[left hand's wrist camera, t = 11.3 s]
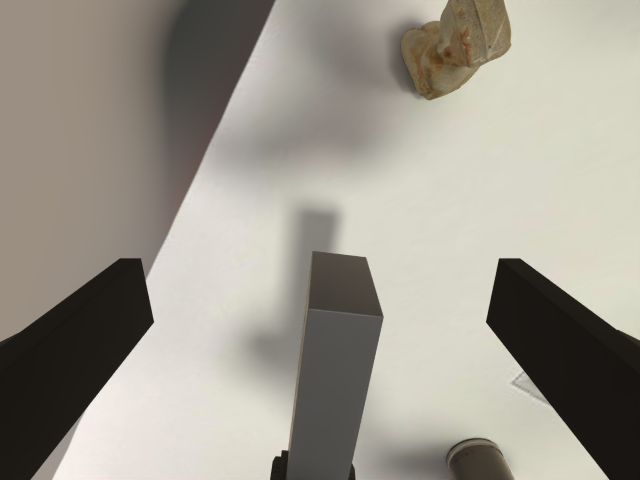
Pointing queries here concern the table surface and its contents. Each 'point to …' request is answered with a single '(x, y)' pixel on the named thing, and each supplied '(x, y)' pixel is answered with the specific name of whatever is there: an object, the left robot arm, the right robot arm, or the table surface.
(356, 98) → the table surface
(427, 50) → the sculpture
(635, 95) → the table surface
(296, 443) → the bar
